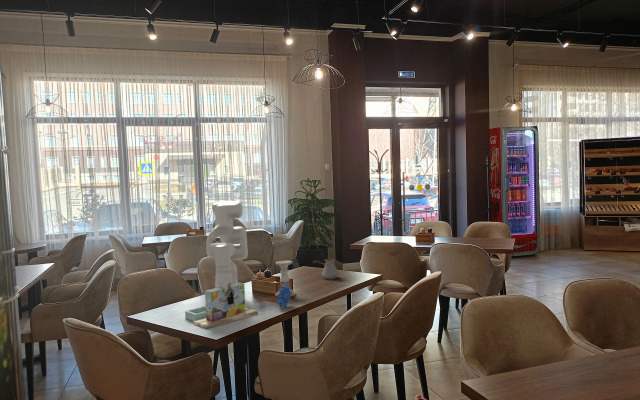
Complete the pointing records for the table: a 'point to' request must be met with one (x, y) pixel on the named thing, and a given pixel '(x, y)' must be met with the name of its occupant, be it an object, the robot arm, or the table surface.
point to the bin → (196, 313)
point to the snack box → (224, 303)
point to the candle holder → (284, 275)
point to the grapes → (283, 296)
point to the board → (225, 319)
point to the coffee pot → (329, 269)
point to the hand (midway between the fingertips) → (225, 302)
